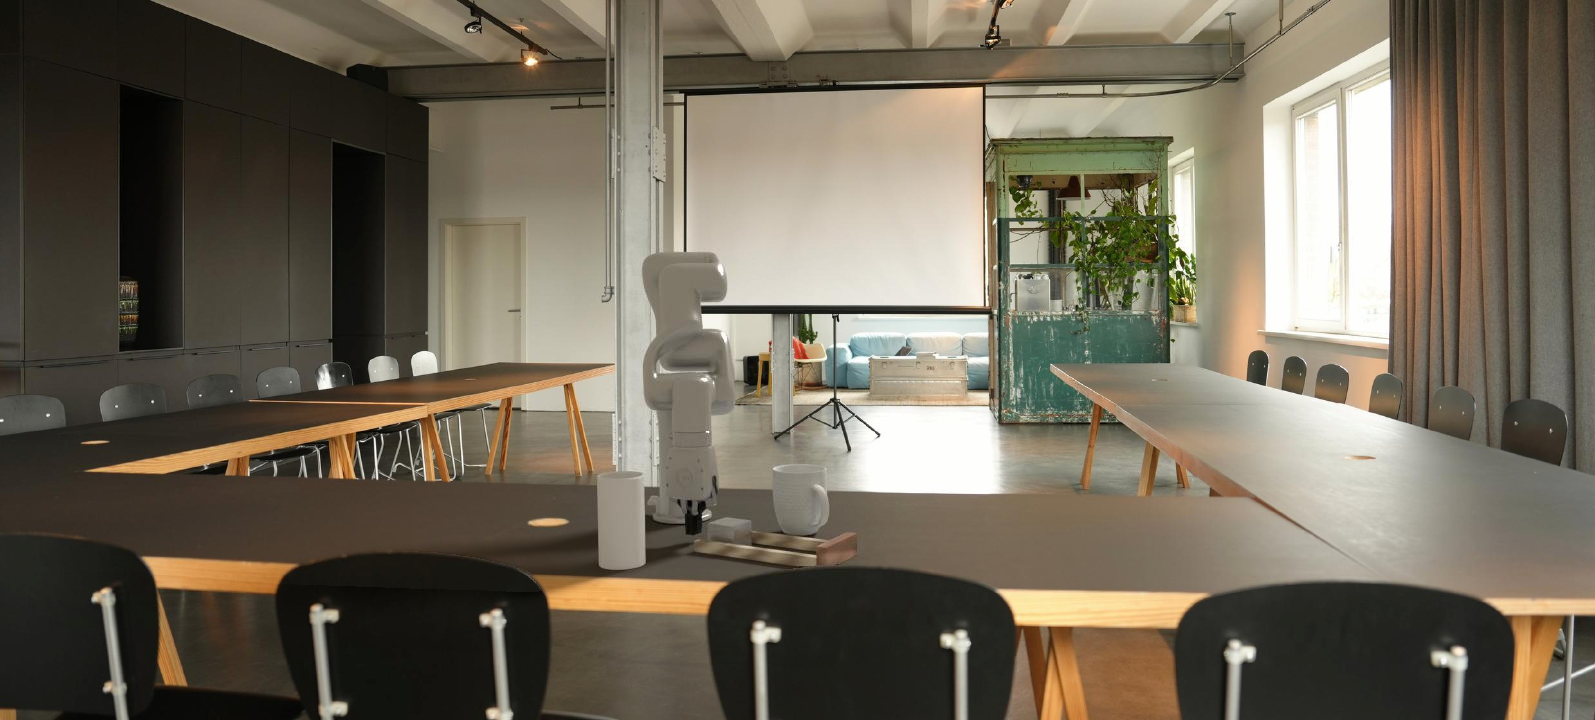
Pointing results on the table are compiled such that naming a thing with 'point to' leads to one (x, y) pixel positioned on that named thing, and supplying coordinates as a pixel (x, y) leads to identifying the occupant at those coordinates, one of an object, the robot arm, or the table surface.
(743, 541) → the block
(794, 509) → the mug
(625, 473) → the cup
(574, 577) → the table surface
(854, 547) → the u-shaped frame
